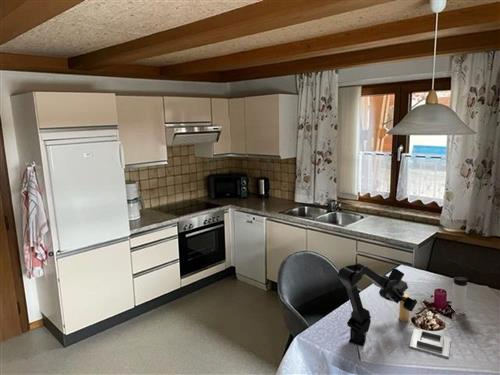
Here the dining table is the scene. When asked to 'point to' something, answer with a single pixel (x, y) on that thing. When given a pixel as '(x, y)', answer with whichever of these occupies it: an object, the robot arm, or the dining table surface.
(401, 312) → the rounded tan peg
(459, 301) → the travel mug
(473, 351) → the dining table surface
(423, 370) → the dining table surface
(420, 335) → the socket
